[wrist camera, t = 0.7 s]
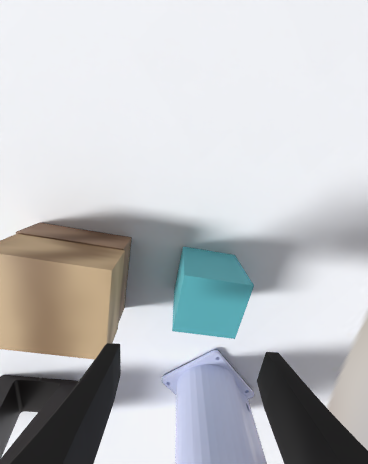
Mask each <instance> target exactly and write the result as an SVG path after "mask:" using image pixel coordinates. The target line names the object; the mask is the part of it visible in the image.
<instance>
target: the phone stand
mask: <svg viewBox="0 0 368 464" xmlns="http://www.w3.org/2000/svg"><path fill="white" fill-rule="evenodd" d="M77 383H78V382H77V381H73V380H61V379H49V378H42V379H39V378H36V377H24V376H11V375H2V376H1V377H0V464H9V463H10V461H11V460H12V459H13V458H14V457H15V456H16V455H17V454H18V453H19V452H20V451H21V450H22V448H23V447H24V446H25V445H26V444H27V443H28V442H29V441H30V440H31V438H32V437H33V436H34V435H35V434H36V433H37V432H38V431H39V429H40V428H41V427H42V426H43V425H44V424H45V422H46V421H47V420H48V419H49V418H50V416H51V415H52V414H53V413H54V412H55V410H56V409H57V408H58V407H59V406H60V404H61V403H62V402H63V401H64V400H65V398H66V397H67V396H68V395H69V393H70V392H71V391H72V390H73V388H74V387H75V386H76V384H77ZM22 411H29V412H38V414H37V415H36V416H35V417H34V418H33V420H32V421H31V422H30V423H29V425H28V426H27V427H26V428H25V430H24V431H23V432H22V433H21V435H20V436H19V437H18V438H17V439H16V441H15V442H14V443H13V444H12V446H11V447H10V448H9V449H8V451H7V452H6V453H5V454H4V456H3V457H2V454H3V452H4V450H5V447H6V445H7V442H8V440H9V438H10V435H11V433H12V431H13V428H14V426H15V424H16V421H17V419H18V416H19V414H20V413H21V412H22ZM1 457H2V458H1Z"/></svg>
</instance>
